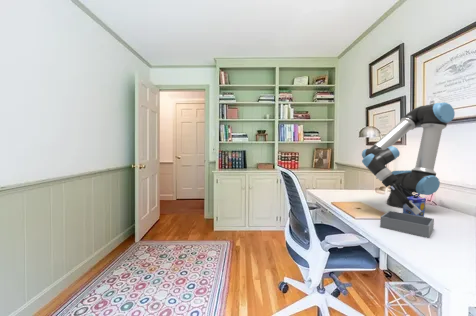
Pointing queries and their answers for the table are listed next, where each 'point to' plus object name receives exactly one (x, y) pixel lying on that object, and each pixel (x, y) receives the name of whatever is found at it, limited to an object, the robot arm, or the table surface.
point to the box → (407, 223)
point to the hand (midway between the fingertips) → (420, 211)
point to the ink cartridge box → (418, 202)
